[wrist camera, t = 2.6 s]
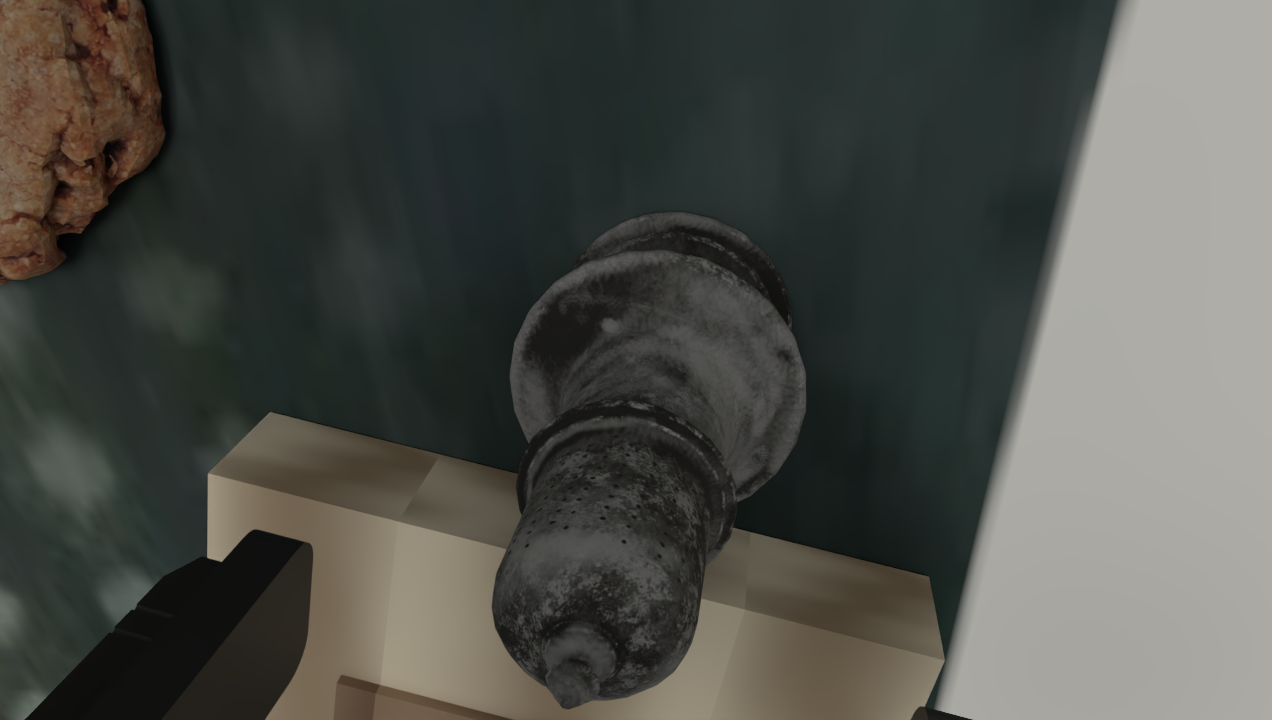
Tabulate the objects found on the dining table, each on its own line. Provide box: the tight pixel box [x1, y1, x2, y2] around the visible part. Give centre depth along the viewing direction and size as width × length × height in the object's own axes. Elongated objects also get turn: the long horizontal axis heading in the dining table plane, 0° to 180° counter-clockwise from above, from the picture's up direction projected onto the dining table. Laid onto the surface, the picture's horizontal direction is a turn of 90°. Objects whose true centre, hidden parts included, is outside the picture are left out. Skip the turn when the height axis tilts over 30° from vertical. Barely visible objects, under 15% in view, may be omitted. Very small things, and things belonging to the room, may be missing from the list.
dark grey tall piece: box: [492, 212, 806, 709], centre depth 18 cm, size 6×6×12 cm
